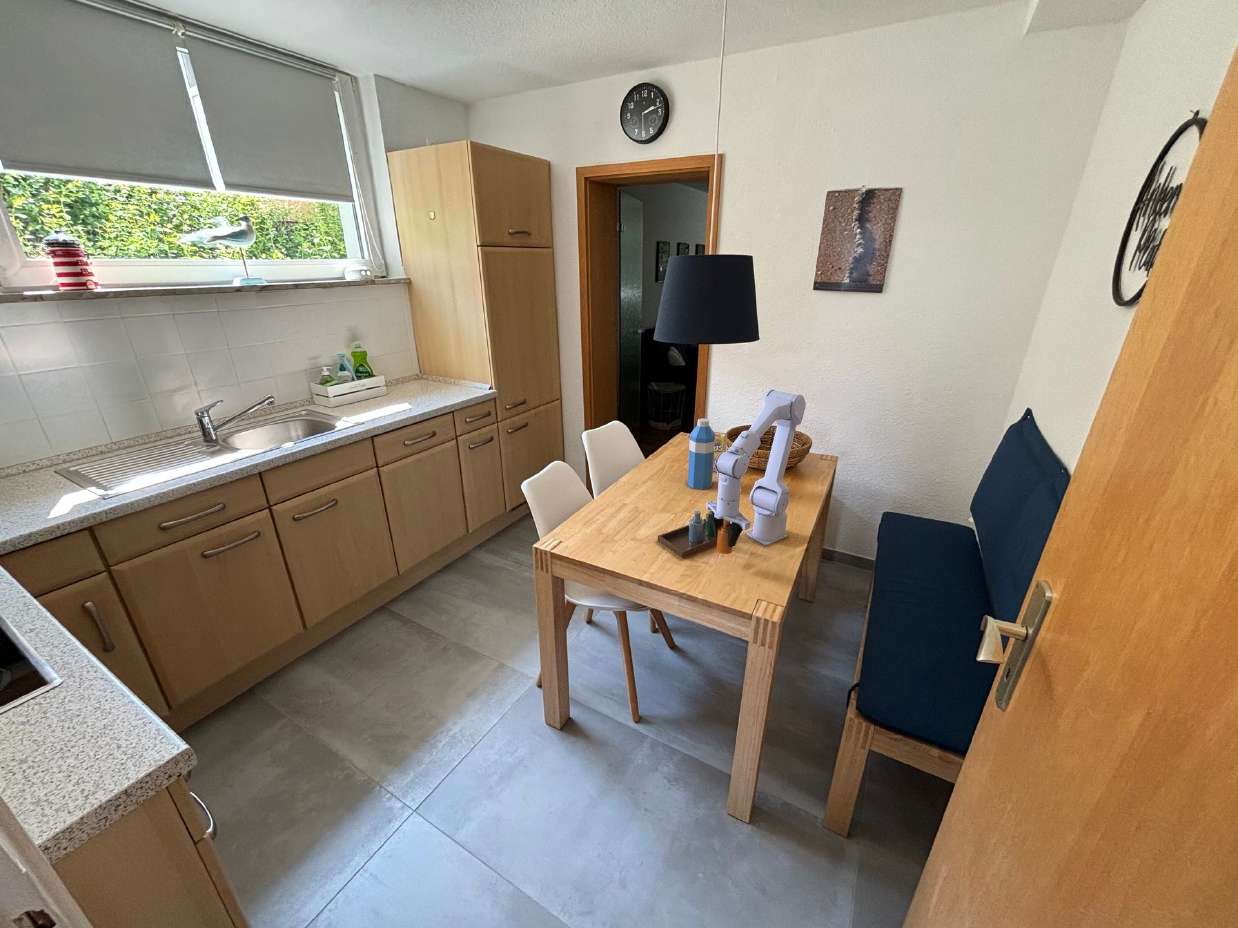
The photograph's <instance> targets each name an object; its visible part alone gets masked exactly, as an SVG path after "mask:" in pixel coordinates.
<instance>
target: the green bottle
mask: <svg viewBox="0 0 1238 928" xmlns="http://www.w3.org/2000/svg"><path fill="white" fill-rule="evenodd" d="M710 514H712V510H708V512H707V513H706V514H705V519H706V522H705V534H706V535H708V536H712V537H715V534H714V530H713V527H712V524H711V522H710V520H709V518H708V515H710Z"/></svg>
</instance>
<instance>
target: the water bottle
mask: <svg viewBox="0 0 1238 928" xmlns="http://www.w3.org/2000/svg"><path fill="white" fill-rule="evenodd" d="M714 432H715V431H714V430H713V429H712V427H711V426H710V419H709V418H703V417H702V418H698V419H697V425H696V426H695V427H694V428H693V430H692V431H691V432H690V434H689V446H688V467H687V486H688V487H690V488H691V489H694V490H695V489H696V490H707V489H710V488H712V485H713V475H714V474H713V473H714V471H713V462H714V447H715V433H714Z"/></svg>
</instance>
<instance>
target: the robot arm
mask: <svg viewBox="0 0 1238 928" xmlns="http://www.w3.org/2000/svg"><path fill="white" fill-rule="evenodd" d="M805 399H806V398H805V397H804V395H802V394H796V393H791V392H786V391H780V390H775V389H769V390H768V391H767V392H766V393H765V394H764V397H763V398H762V403H761V410H760V412H758V415H757V416H756V417H755V419H754V421H753V422H752V424H751V426H750V427H749V428H748V430H743V431H741V433H740V434H739V435H738V437H736V439H735V440H734V441H733V443H732V444H731V446H729V448H728V450H726V451H725V452H723V453H721V454H719V456H718V457H717V460H716V463H715V470H716V471H717V472H716V478H717V479H718V484H717V485H718V486H717V497H716V498H717V499H716V502H715V501H713V500H710V501H707V502H705V510H707V511H711V510H712V514H710V515H708V518H709V520H710V522H711V524H712V527H713V530H714V534H715V539H717V535H718V529H719V528H720V527H721V526H722V525H723V521H724V519H725V520H728V521H730V524H728V525H726V529H727V532H728V547H730V548H731V547H733V548H734V547H735V546H736V545H737V542H738V539H739V537H740V535H741V534H742V532H743V531H747V530H749V529H751V525H753V526H752V530H751V531H747V532H746V533H745V534H746V535H747V536H748V537H751V538H752V539H753V540H756V541H757V542H759V543H761V544H763V545H764V546H767V545H771V544H772V543H775V542H777V541H779V540H781V539H784V538H787V537H788V534H786V528H787V520H788V514H787V512H786V510H787V508H788V507H789V503H790V502H789V501H790V498H789V497H790V492H791V491H790V488H789V487H788V486H787V485H786V483H785V482H784V481H783V480H784V474H785V472H786V468H787V465H788V461H789V456H790V452H791V449H792V445H793V442H794V437H795V434H796V429H797V426H799V425H802V422H803V418H804V414H805V410H806V408H807V402H806V400H805ZM774 423H776V429H775V433H774V438H773V442H772V445H771V448H770V452H769V453H770V454H769V456H768V461H767V465H766V469H765V473H764V477H762V478H759V479H758V480H756V481H755V483H754V485H753V487H752V490H751V491H750V494H749V503H750V504H751V505H752V509H753V510H754V514H753V515H754V517H753V524H752V521H750V520H749V519H748V518H747V517H745V516H744V515H743V514H742V512H741V511H740V503H741V491H742V480H743V479H742V478H743V476H744V475H745V474H746V473H747V471H748V468H749V465H750V462H751V458H752V457H753V455H755V452H756V451H757V450H758V448H759V447H760V446H761V438H762V437H763V435H764V434H765V433H766V432H767V431H769V429H770V428H771V427H772V425H773V424H774Z"/></svg>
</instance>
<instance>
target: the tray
mask: <svg viewBox="0 0 1238 928" xmlns="http://www.w3.org/2000/svg"><path fill="white" fill-rule="evenodd" d="M702 519H703V518H702ZM703 520H704V522H706V518H704V519H703ZM657 542H658V543H659V544H660V545H662V546H663V547H664V548H666V549H668V550H670V551H671V552H673V553H674V554H675V555H677V556H678V557H679V558H681V559H684V558H686V557H689V556H692V555H694V554H696V553H700V552H702V551H704V550H706V549H709V548H711V547H714V546H717V539H715V537H712V536H708V535H706V534H705V524H704V540H703V541H702V542H700V543H694V542H691V541H690V540H689V524H686V525H683V526H681V527H678V528H675V529H673V530H670V531H667V532H664V533H661V534H659V535H657Z"/></svg>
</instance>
